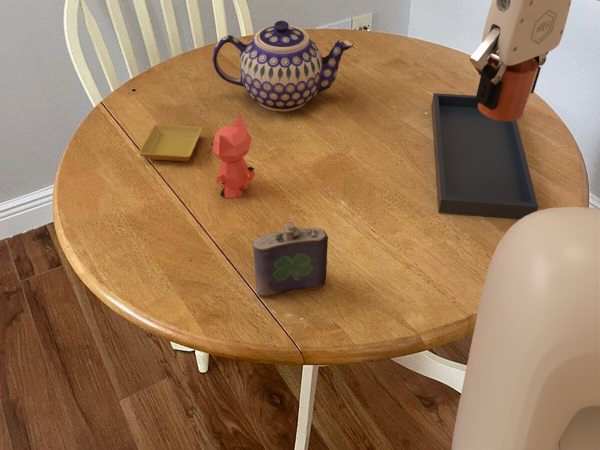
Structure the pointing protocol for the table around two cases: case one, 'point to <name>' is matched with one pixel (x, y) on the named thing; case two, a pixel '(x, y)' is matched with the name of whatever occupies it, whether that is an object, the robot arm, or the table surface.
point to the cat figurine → (233, 158)
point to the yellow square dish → (171, 142)
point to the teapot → (283, 66)
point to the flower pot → (513, 91)
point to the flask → (290, 260)
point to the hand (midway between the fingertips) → (504, 96)
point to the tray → (479, 161)
